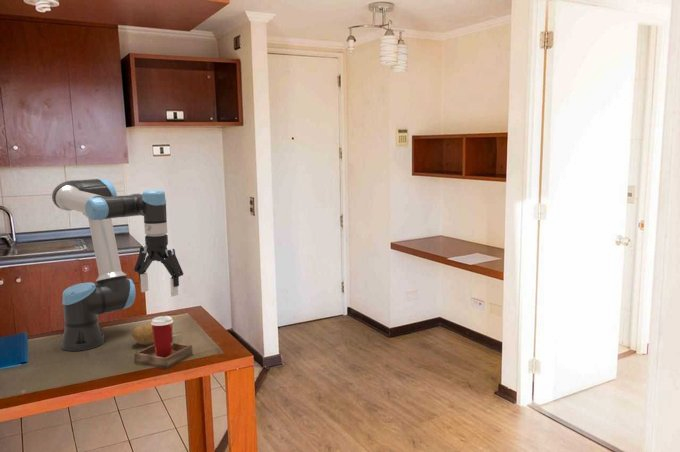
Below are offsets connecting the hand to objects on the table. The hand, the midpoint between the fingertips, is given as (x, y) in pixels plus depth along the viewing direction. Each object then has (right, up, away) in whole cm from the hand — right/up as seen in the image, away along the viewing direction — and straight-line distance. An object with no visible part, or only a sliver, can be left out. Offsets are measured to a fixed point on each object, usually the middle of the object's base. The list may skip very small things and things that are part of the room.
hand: (159, 293), depth 193 cm
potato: (-10, -22, +19) cm, 31 cm away
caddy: (+1, -24, +3) cm, 24 cm away
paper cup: (+1, -23, +3) cm, 23 cm away
